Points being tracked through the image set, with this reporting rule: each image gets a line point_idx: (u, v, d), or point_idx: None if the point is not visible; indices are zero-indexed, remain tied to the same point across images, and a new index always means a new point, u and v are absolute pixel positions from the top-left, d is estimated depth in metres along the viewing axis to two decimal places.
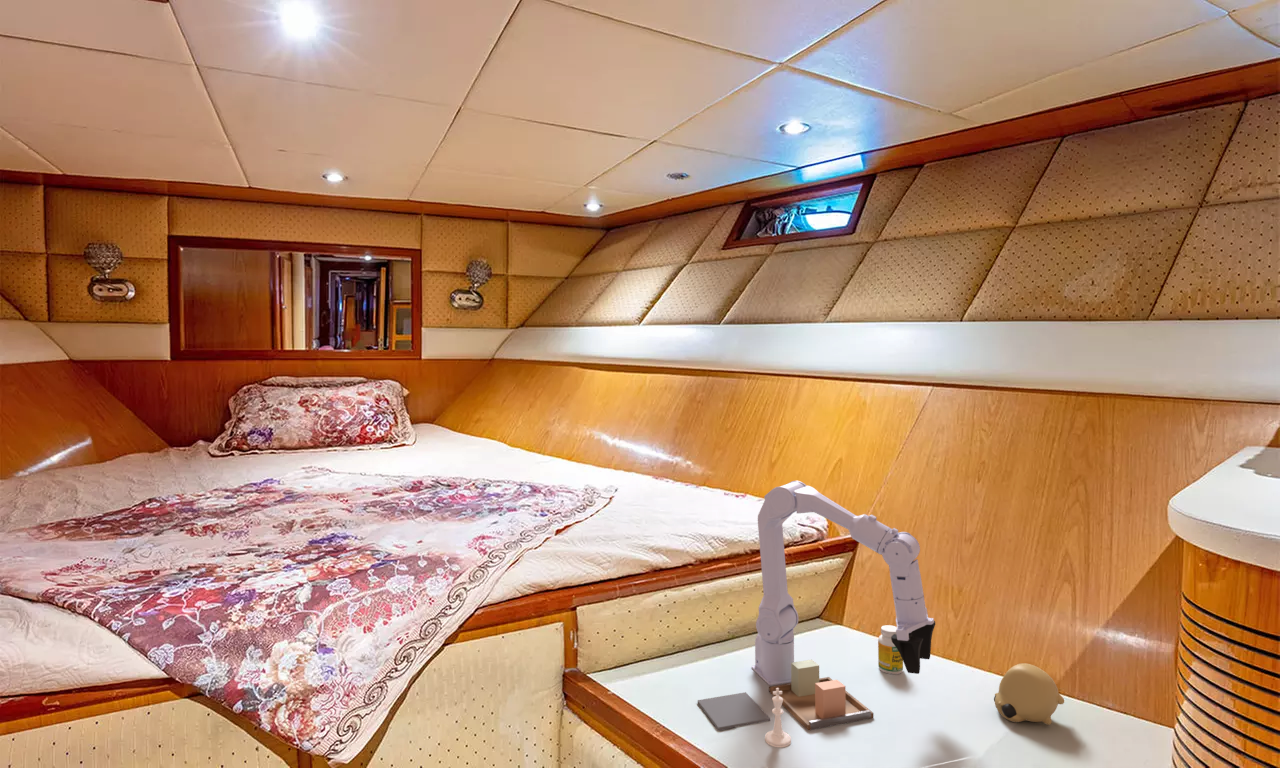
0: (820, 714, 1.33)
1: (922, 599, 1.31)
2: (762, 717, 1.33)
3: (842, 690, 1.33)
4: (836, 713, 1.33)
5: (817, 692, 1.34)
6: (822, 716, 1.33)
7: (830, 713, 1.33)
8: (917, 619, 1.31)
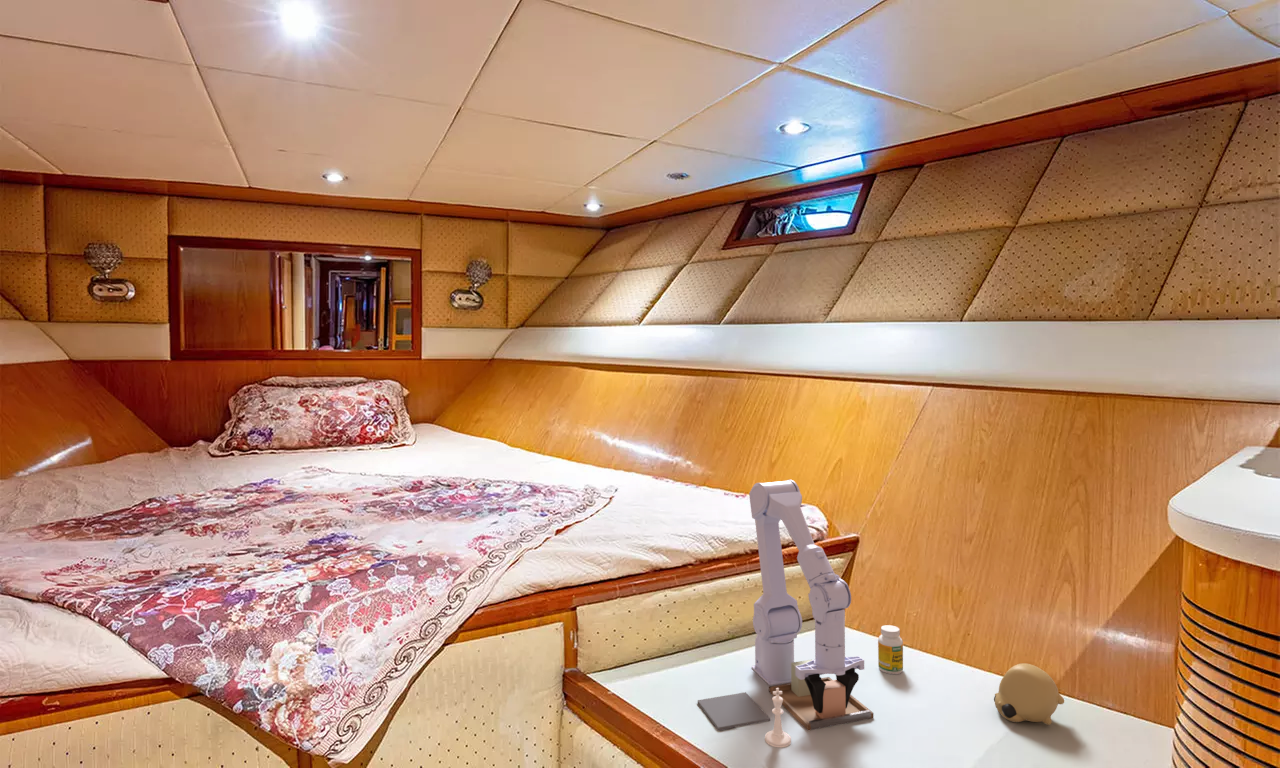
0: (820, 714, 1.33)
1: (835, 649, 1.31)
2: (762, 717, 1.33)
3: (842, 690, 1.33)
4: (836, 713, 1.33)
5: None
6: (822, 716, 1.33)
7: (830, 713, 1.33)
8: (825, 665, 1.32)
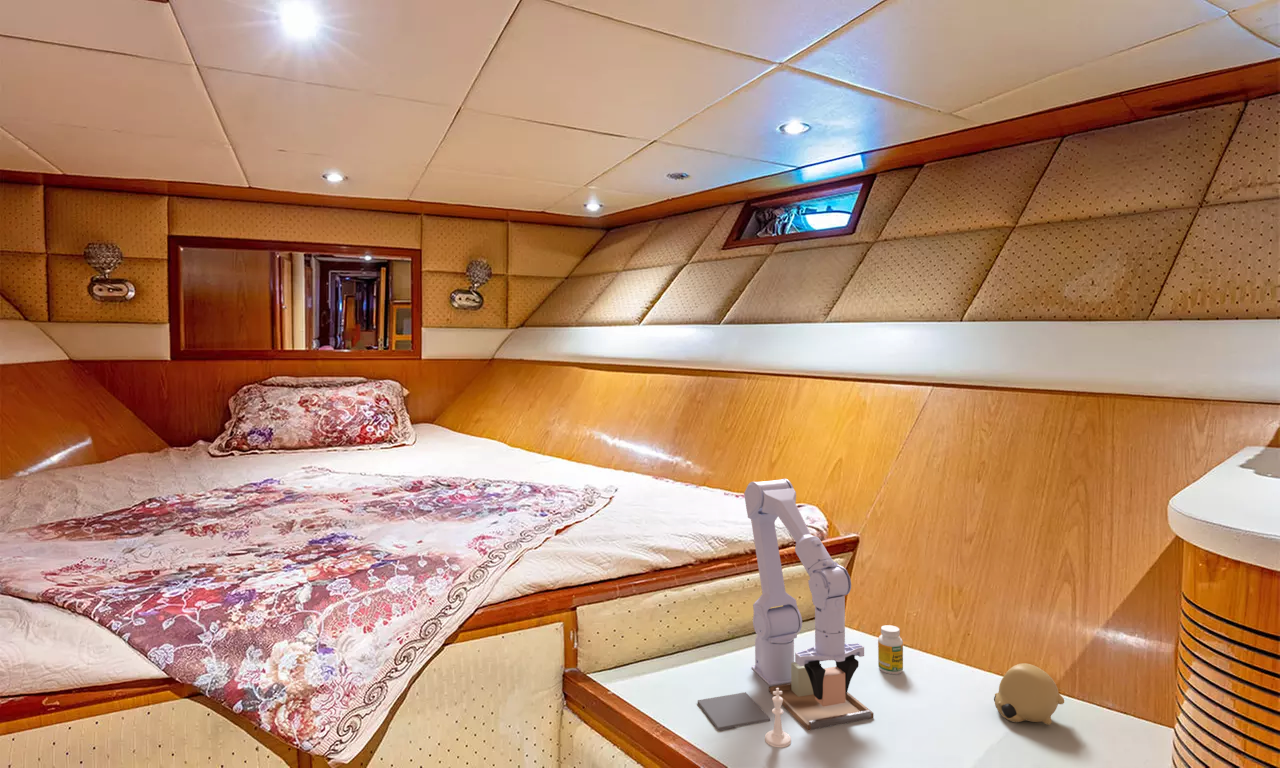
0: (820, 701, 1.33)
1: (835, 635, 1.31)
2: (762, 717, 1.33)
3: (842, 677, 1.33)
4: (836, 700, 1.33)
5: None
6: (822, 703, 1.33)
7: (830, 700, 1.33)
8: (825, 651, 1.32)
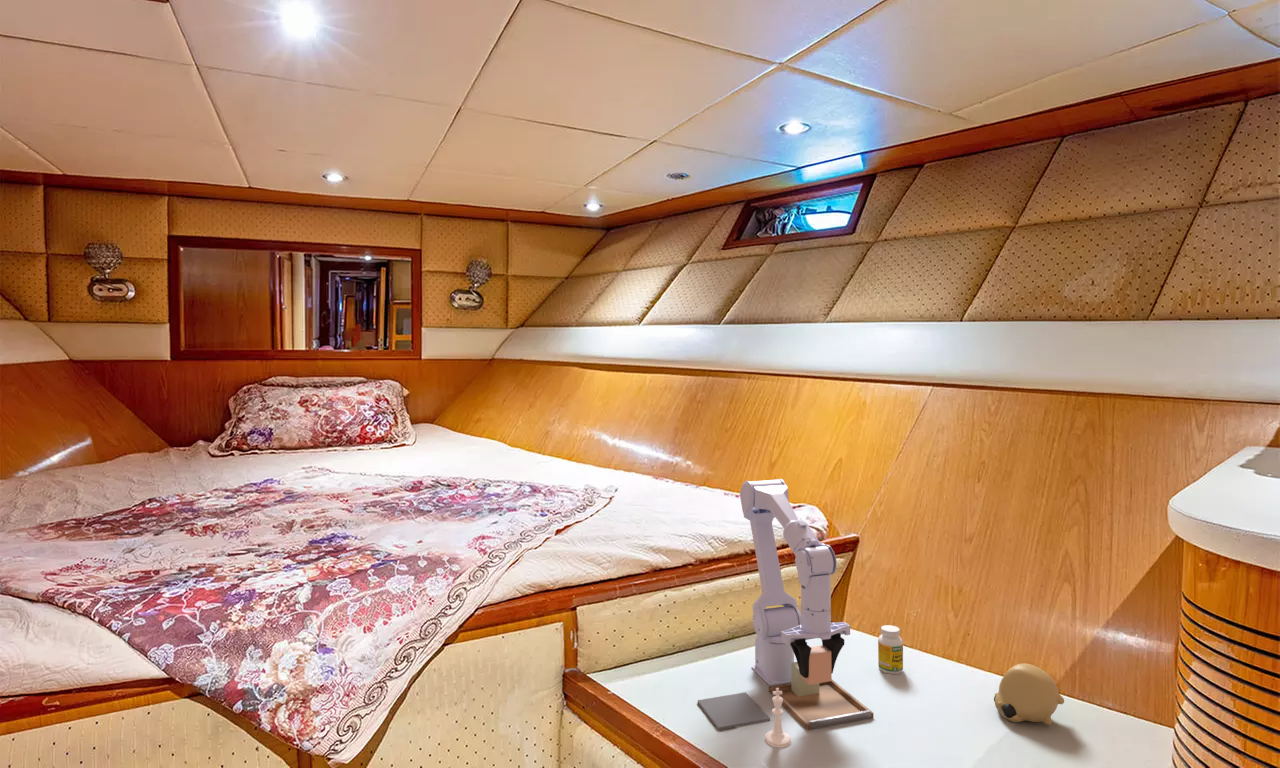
0: (806, 679, 1.33)
1: (821, 613, 1.31)
2: (762, 717, 1.33)
3: (828, 655, 1.33)
4: (822, 678, 1.33)
5: None
6: (808, 681, 1.33)
7: (816, 678, 1.33)
8: (810, 630, 1.32)
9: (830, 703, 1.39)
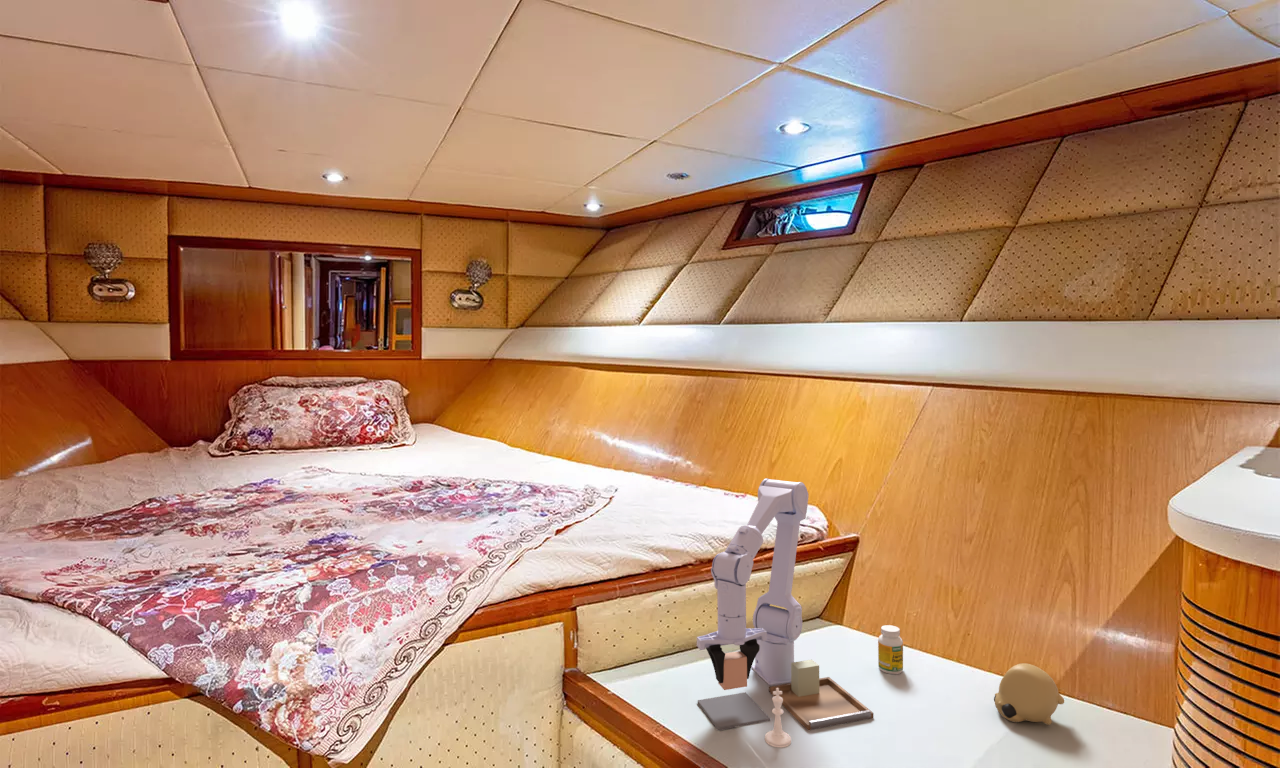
0: (722, 684, 1.35)
1: (735, 619, 1.33)
2: (762, 717, 1.33)
3: (743, 661, 1.35)
4: (737, 683, 1.35)
5: None
6: (723, 686, 1.34)
7: (731, 684, 1.34)
8: (725, 635, 1.33)
9: (830, 703, 1.39)
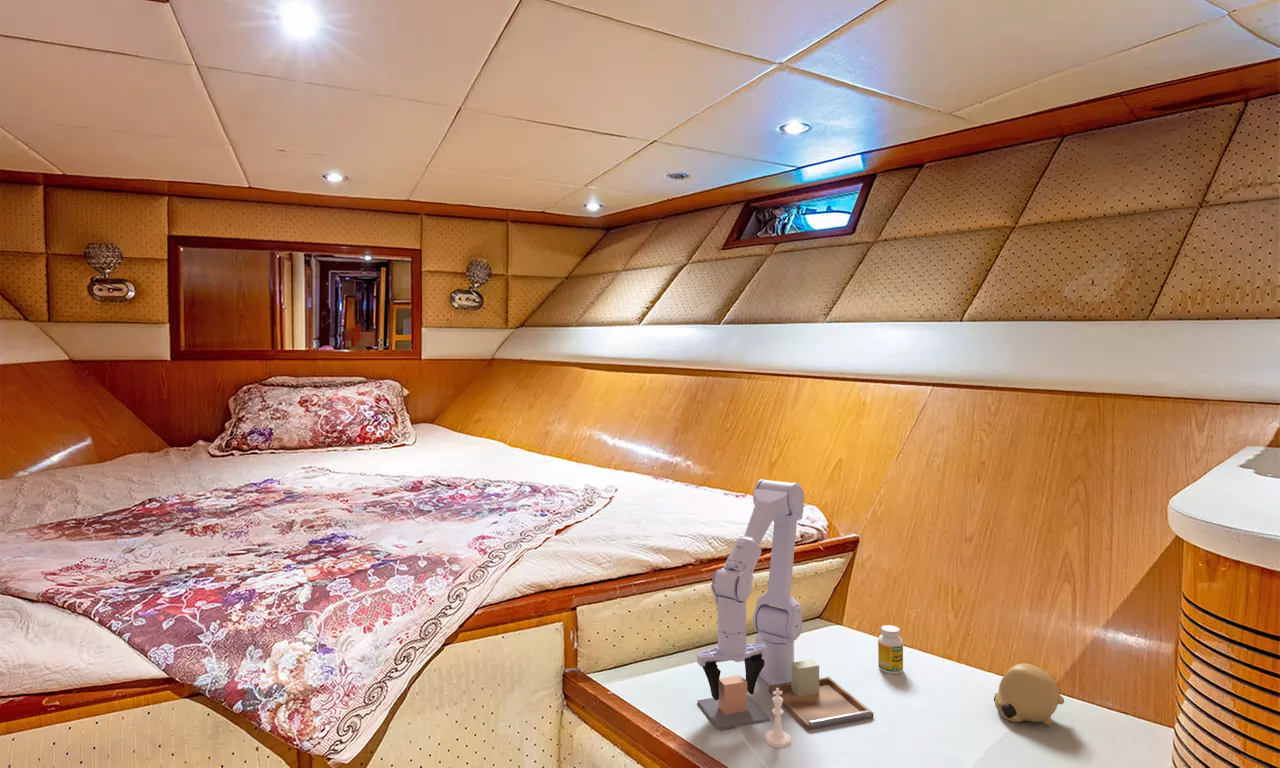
0: (722, 709, 1.35)
1: (735, 636, 1.33)
2: (762, 717, 1.33)
3: (744, 685, 1.35)
4: (738, 708, 1.35)
5: (720, 687, 1.36)
6: (724, 711, 1.34)
7: (731, 708, 1.34)
8: (725, 652, 1.33)
9: (830, 703, 1.39)
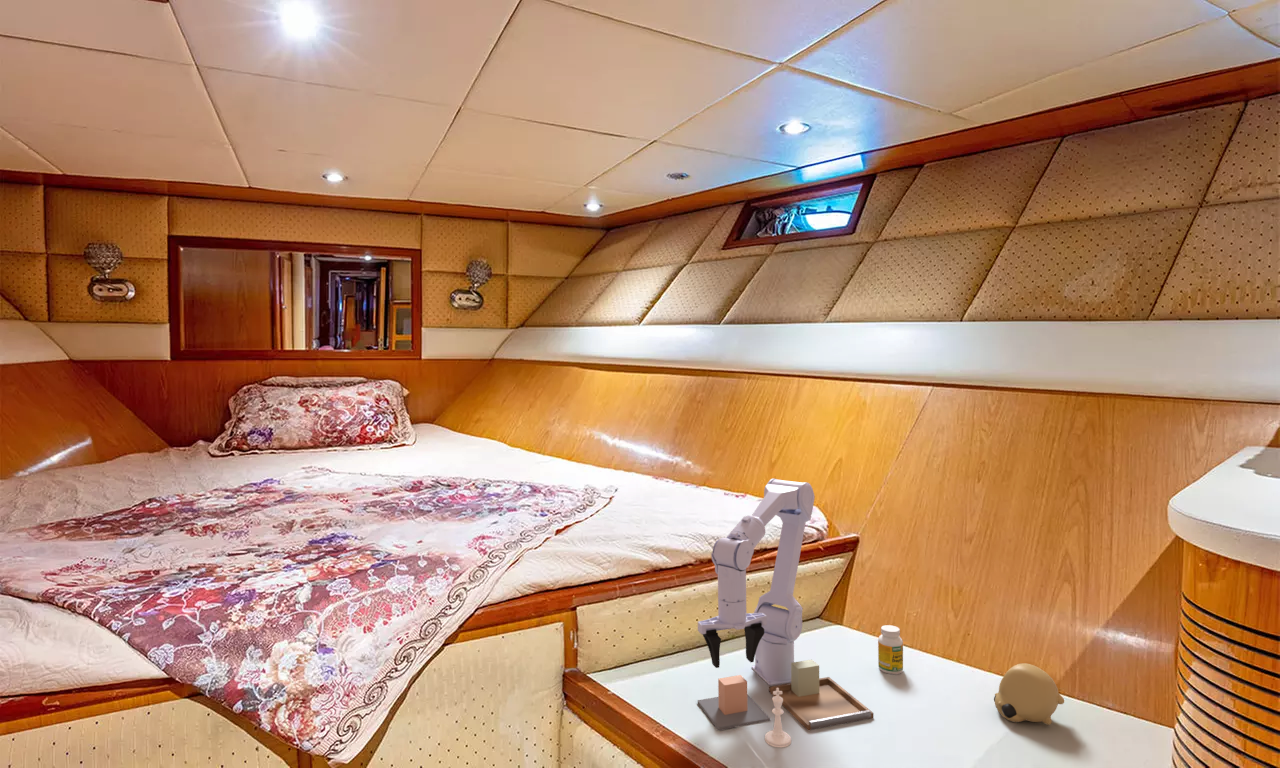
0: (722, 709, 1.35)
1: (735, 604, 1.34)
2: (762, 717, 1.33)
3: (744, 685, 1.35)
4: (738, 708, 1.35)
5: (720, 687, 1.36)
6: (724, 711, 1.34)
7: (731, 708, 1.34)
8: (725, 620, 1.35)
9: (830, 703, 1.39)
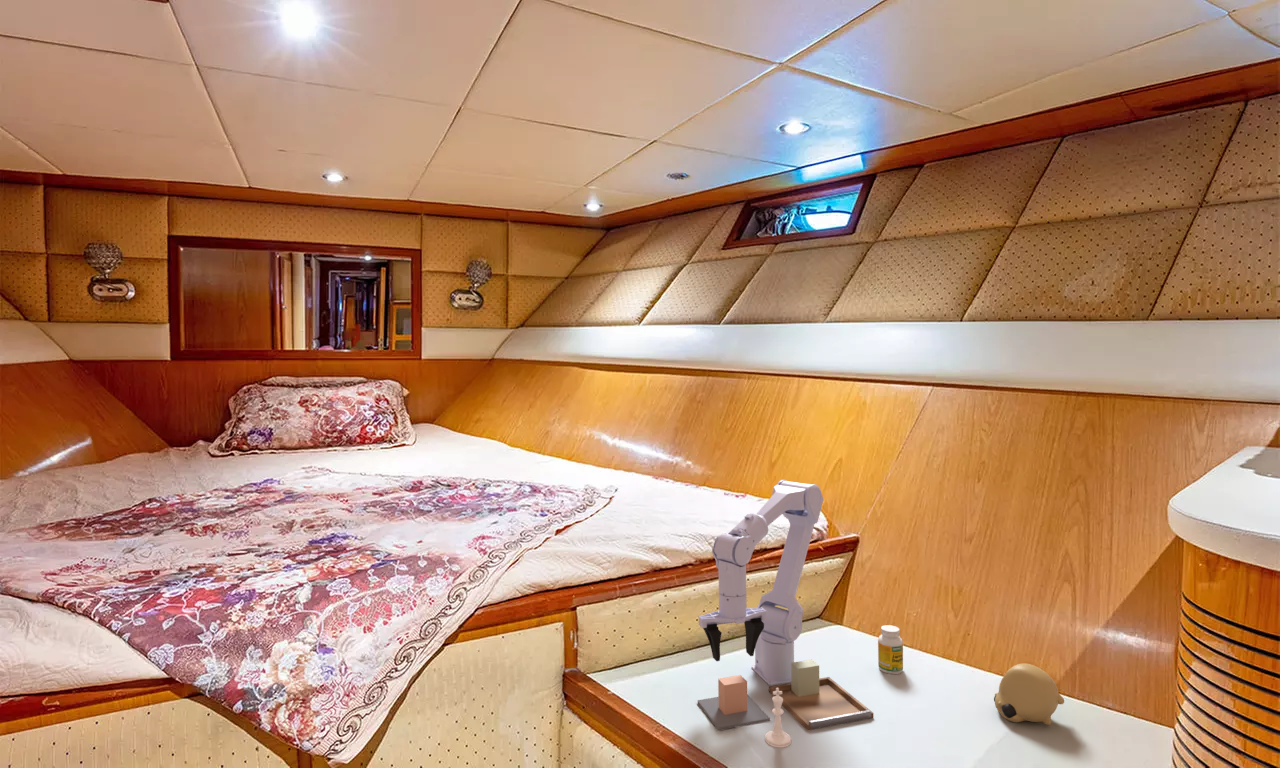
0: (722, 709, 1.35)
1: (735, 598, 1.37)
2: (762, 717, 1.33)
3: (744, 685, 1.35)
4: (738, 708, 1.35)
5: (720, 687, 1.36)
6: (724, 711, 1.34)
7: (731, 708, 1.34)
8: (726, 614, 1.38)
9: (830, 703, 1.39)
